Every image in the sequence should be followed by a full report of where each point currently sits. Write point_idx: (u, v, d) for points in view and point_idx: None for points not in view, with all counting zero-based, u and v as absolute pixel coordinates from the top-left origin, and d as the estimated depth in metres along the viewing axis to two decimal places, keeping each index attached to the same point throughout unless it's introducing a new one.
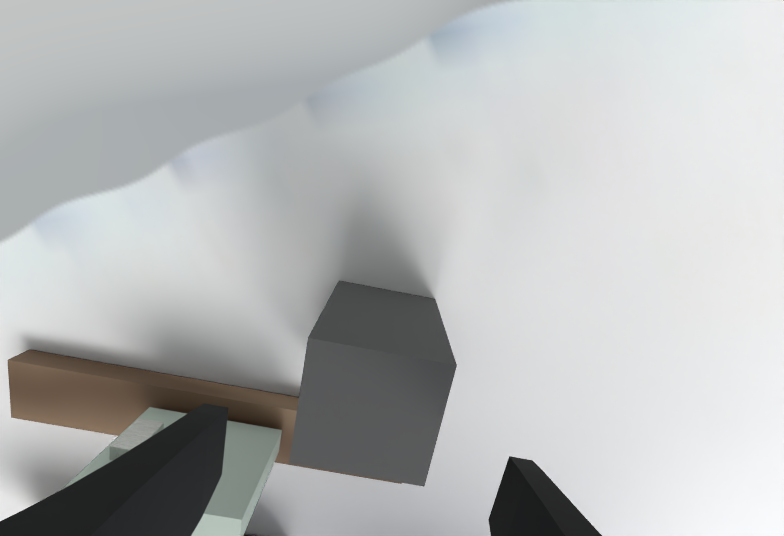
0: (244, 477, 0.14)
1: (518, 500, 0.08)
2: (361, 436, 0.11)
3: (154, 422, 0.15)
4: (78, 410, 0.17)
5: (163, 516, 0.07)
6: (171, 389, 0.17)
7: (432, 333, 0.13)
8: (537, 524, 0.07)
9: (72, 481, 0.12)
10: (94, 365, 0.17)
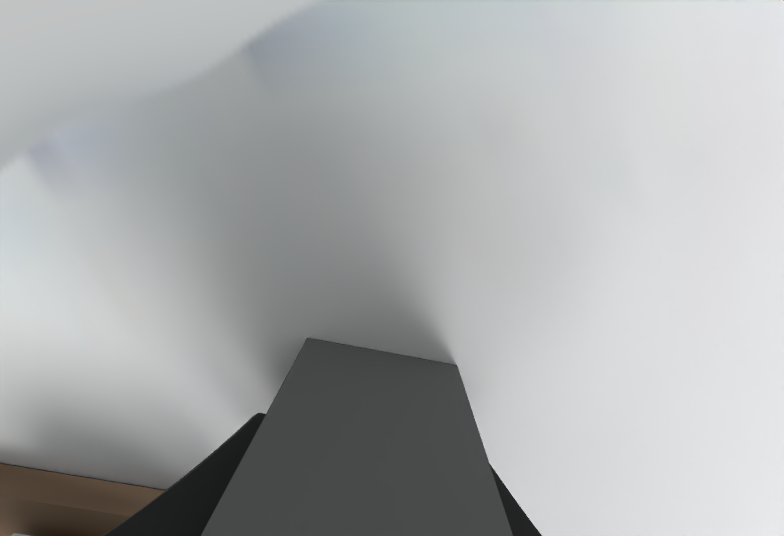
0: None
1: None
2: None
3: None
4: None
5: None
6: (48, 504, 0.11)
7: (464, 466, 0.07)
8: None
9: None
10: None
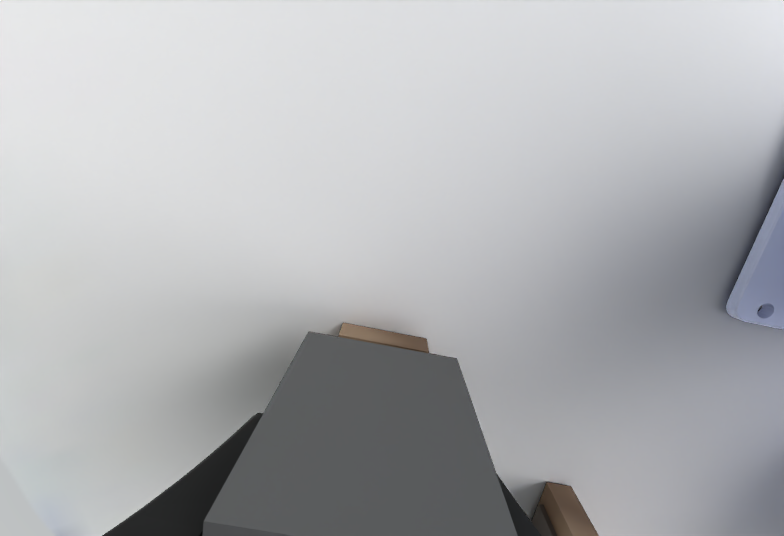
0: None
1: None
2: None
3: None
4: None
5: None
6: None
7: (463, 454, 0.07)
8: None
9: None
10: None
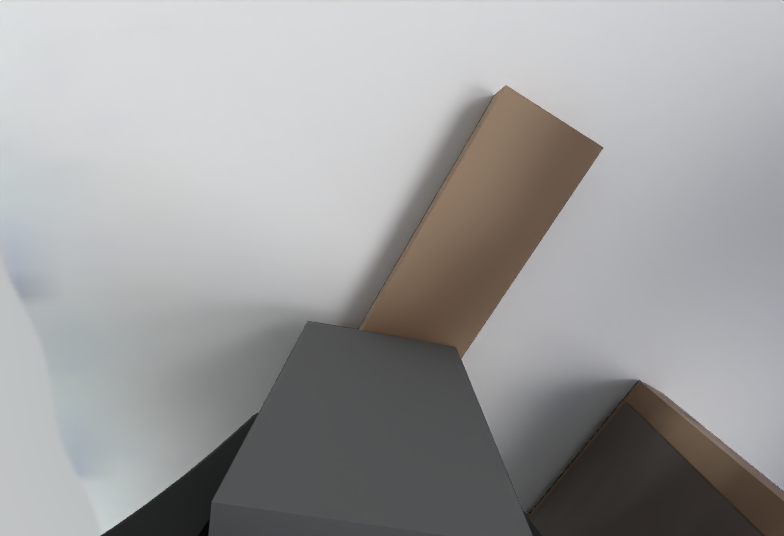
0: None
1: None
2: None
3: None
4: None
5: None
6: None
7: (467, 437, 0.07)
8: None
9: None
10: None
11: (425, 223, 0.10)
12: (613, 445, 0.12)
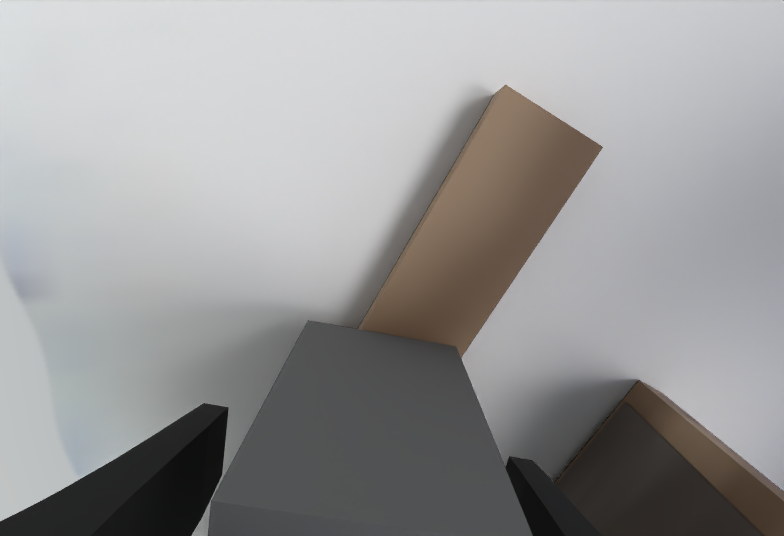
0: None
1: None
2: None
3: None
4: None
5: (163, 517, 0.07)
6: None
7: (467, 437, 0.07)
8: (537, 524, 0.07)
9: None
10: None
11: (425, 223, 0.10)
12: (613, 445, 0.12)
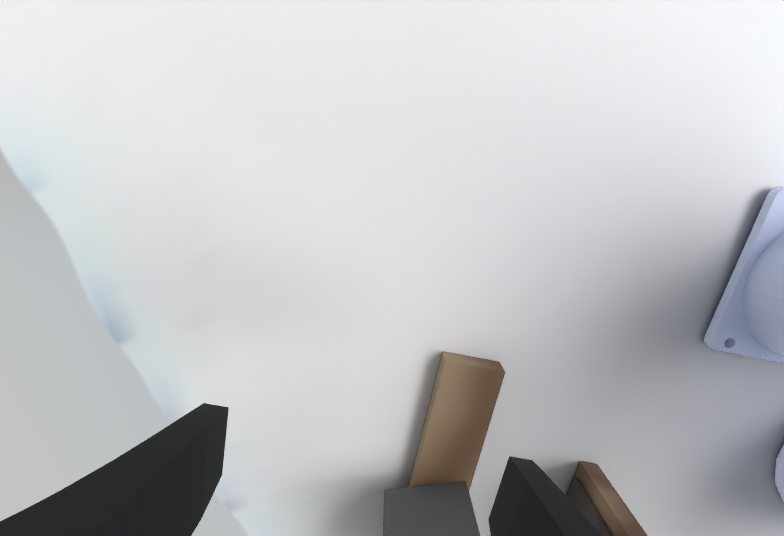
0: None
1: (518, 500, 0.08)
2: None
3: None
4: None
5: (163, 517, 0.07)
6: None
7: None
8: (537, 524, 0.07)
9: None
10: None
11: (427, 429, 0.19)
12: None
